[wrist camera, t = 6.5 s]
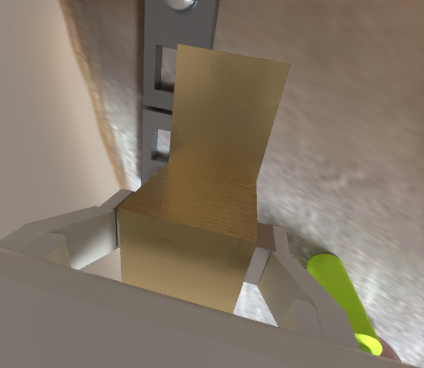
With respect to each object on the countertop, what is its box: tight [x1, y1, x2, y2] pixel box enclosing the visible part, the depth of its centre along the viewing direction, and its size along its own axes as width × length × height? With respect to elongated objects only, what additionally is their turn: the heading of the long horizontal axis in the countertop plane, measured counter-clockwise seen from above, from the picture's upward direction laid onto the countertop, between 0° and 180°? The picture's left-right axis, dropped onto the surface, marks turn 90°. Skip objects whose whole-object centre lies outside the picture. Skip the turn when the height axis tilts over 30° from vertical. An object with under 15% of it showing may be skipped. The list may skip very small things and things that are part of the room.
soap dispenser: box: [306, 254, 382, 356], centre depth 29 cm, size 6×7×20 cm
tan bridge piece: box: [118, 44, 291, 314], centre depth 11 cm, size 13×4×10 cm, turn 170°
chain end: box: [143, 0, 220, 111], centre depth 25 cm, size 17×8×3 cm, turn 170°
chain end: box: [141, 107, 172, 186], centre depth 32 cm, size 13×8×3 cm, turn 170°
